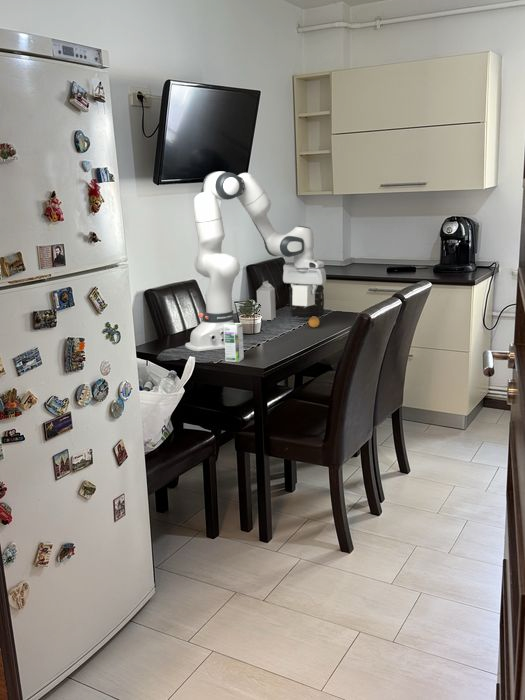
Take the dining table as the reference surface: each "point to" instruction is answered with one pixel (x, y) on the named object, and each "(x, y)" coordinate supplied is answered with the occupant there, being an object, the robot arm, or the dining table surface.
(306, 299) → the white block
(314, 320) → the ball
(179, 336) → the dining table surface
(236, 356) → the syrup box
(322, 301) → the chalk-scribbled black cube
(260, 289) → the milk carton
